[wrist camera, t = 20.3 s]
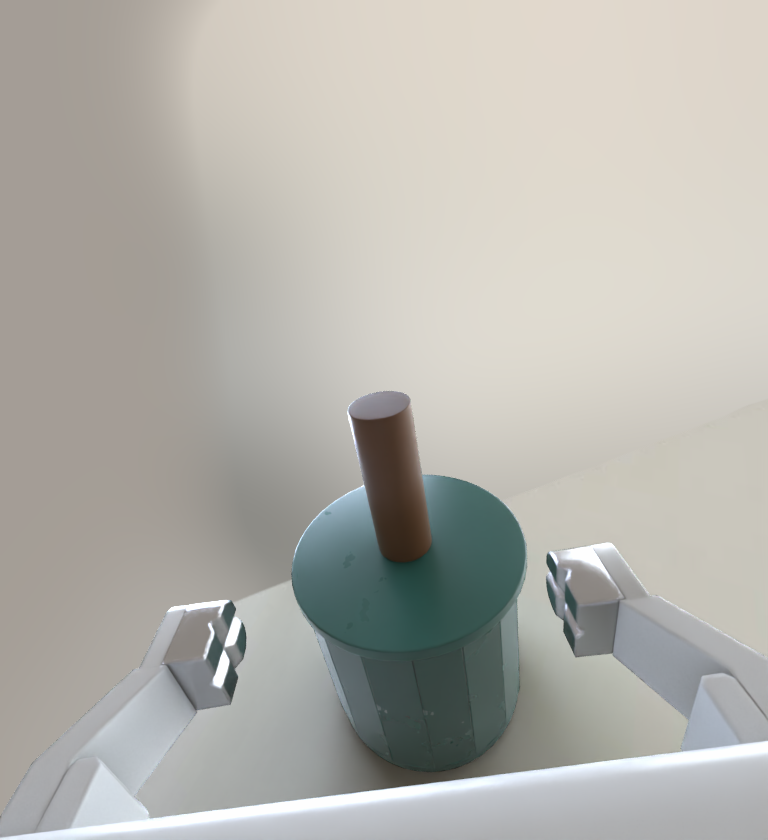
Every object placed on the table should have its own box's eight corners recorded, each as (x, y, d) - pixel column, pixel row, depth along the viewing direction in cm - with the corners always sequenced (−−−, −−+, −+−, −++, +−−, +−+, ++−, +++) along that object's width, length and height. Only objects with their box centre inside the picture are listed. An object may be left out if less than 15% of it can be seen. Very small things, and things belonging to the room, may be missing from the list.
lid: (257, 657, 18) (177, 492, 14) (336, 490, 27) (302, 364, 23) (541, 687, 15) (542, 489, 11) (518, 489, 24) (514, 345, 21)
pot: (317, 755, 22) (264, 639, 18) (364, 591, 31) (336, 486, 27) (526, 789, 20) (524, 662, 15) (512, 598, 28) (508, 484, 24)
